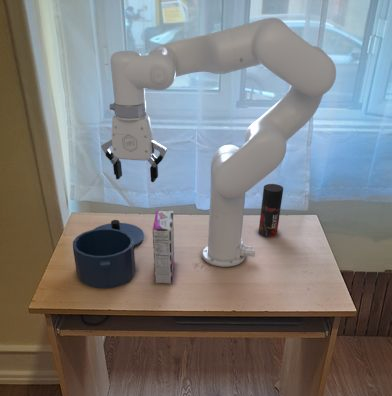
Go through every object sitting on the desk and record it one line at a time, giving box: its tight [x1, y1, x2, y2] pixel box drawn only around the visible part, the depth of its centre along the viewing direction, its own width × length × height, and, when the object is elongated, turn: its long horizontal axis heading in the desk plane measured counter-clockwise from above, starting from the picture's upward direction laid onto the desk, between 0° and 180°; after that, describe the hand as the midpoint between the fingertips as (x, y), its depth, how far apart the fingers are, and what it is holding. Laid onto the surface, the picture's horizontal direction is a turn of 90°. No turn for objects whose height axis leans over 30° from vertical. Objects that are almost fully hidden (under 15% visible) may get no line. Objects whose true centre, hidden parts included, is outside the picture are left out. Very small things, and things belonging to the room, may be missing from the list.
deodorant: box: [258, 183, 284, 238], centre depth 155 cm, size 6×6×15 cm
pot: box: [72, 226, 136, 289], centre depth 136 cm, size 16×21×10 cm
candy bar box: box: [152, 209, 175, 285], centre depth 134 cm, size 11×5×16 cm, turn 179°
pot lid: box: [92, 219, 145, 247], centre depth 153 cm, size 17×17×6 cm
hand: (136, 178), depth 133 cm, fingers open, 9 cm apart
